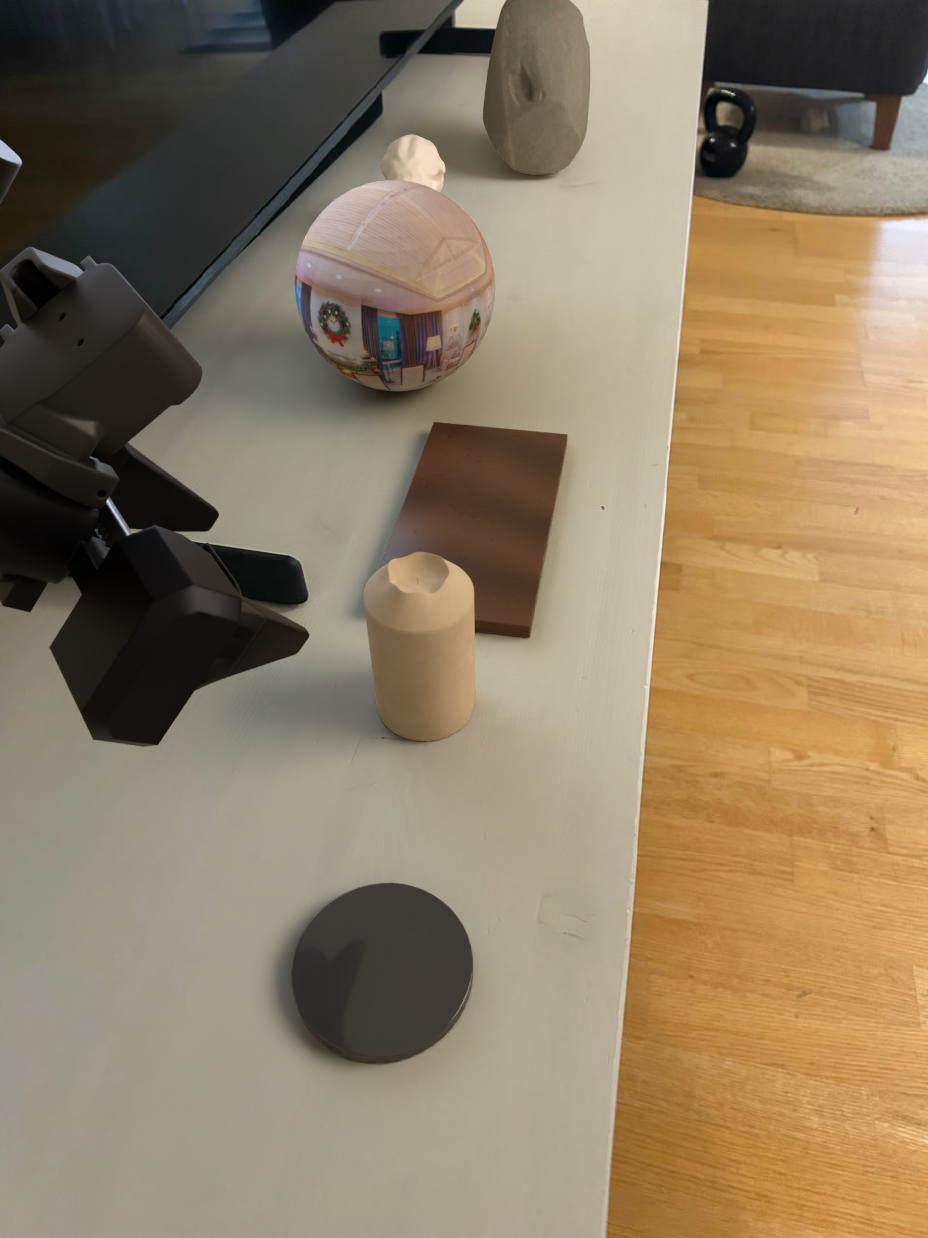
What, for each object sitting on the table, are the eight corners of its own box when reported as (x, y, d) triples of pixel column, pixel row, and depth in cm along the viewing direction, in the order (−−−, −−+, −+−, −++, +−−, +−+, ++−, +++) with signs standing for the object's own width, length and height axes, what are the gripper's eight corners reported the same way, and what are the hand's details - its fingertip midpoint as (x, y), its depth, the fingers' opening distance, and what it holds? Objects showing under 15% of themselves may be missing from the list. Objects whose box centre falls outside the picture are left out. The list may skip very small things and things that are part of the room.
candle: (441, 758, 52) (434, 625, 45) (357, 717, 54) (337, 584, 47) (493, 690, 55) (494, 557, 48) (412, 654, 57) (401, 521, 50)
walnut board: (529, 638, 58) (530, 626, 57) (366, 618, 59) (365, 606, 59) (567, 445, 72) (567, 433, 71) (433, 432, 73) (433, 421, 73)
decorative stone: (481, 183, 107) (480, 27, 96) (485, 128, 119) (485, -16, 108) (591, 183, 106) (603, 26, 96) (584, 127, 118) (594, -17, 108)
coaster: (350, 1103, 40) (348, 1097, 39) (262, 950, 44) (259, 942, 44) (509, 994, 43) (509, 985, 42) (411, 861, 48) (410, 852, 47)
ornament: (297, 344, 83) (269, 160, 72) (468, 320, 85) (466, 139, 75) (323, 443, 72) (295, 245, 62) (517, 412, 75) (522, 217, 64)
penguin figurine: (445, 127, 94) (430, 188, 87) (449, 212, 101) (434, 275, 93) (381, 125, 95) (360, 186, 87) (388, 210, 101) (369, 273, 94)
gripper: (86, 360, 23) (485, 546, 35) (-82, 128, 34) (263, 329, 46) (-124, 723, 25) (314, 779, 37) (-215, 397, 36) (144, 520, 48)
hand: (255, 577), depth 42 cm, fingers open, 9 cm apart
